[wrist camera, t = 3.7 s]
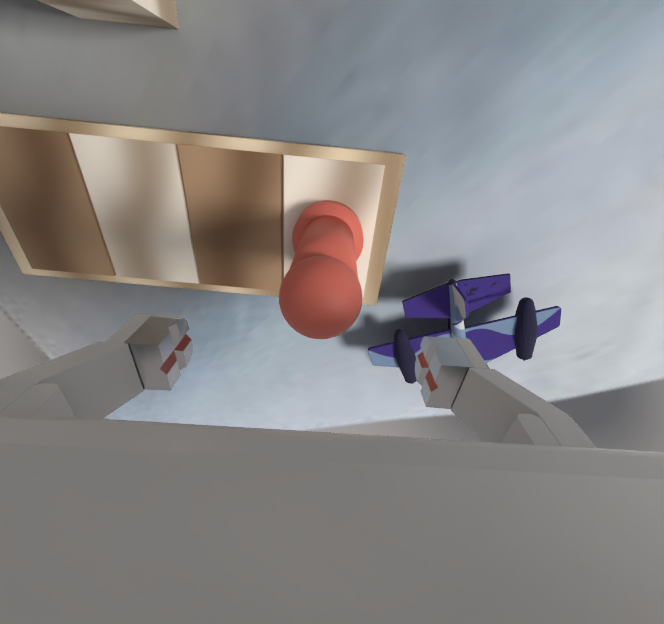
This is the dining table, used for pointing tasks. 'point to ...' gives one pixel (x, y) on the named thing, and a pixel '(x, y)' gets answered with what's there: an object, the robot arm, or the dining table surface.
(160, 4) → the die
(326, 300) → the pawn
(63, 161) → the track board
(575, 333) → the dining table surface
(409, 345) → the toy airplane
